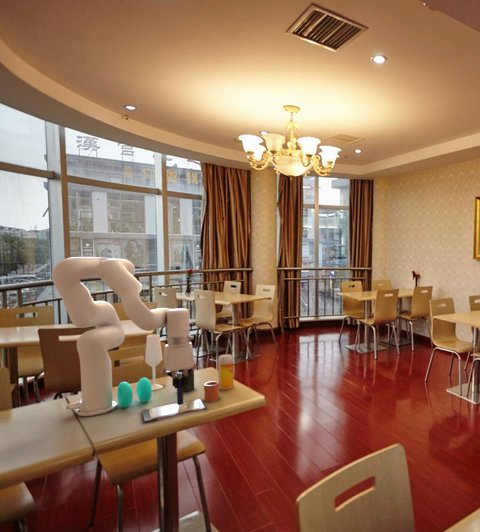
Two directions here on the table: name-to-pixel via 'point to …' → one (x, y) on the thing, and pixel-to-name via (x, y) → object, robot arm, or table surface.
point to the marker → (179, 388)
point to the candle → (189, 382)
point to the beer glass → (225, 371)
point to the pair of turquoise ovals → (126, 394)
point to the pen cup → (211, 391)
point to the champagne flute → (153, 356)
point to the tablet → (172, 410)
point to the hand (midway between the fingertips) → (179, 386)
